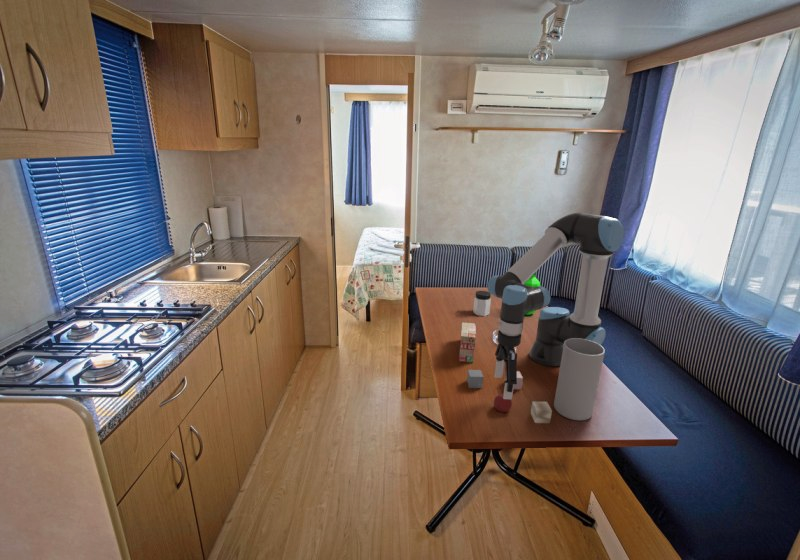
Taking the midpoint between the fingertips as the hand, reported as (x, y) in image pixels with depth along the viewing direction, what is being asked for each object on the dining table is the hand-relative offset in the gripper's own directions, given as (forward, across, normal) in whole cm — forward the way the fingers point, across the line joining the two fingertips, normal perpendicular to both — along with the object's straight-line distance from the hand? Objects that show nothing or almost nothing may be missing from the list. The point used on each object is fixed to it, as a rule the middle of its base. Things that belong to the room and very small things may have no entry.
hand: (502, 387), depth 142 cm
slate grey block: (+8, -14, -7) cm, 18 cm away
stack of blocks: (+8, -42, -6) cm, 43 cm away
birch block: (+8, +6, +12) cm, 16 cm away
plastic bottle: (+7, -89, +35) cm, 96 cm away
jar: (+7, -87, +9) cm, 88 cm away
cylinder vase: (+8, +1, +25) cm, 27 cm away
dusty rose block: (+8, -14, +8) cm, 18 cm away
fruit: (+8, 0, 0) cm, 8 cm away
